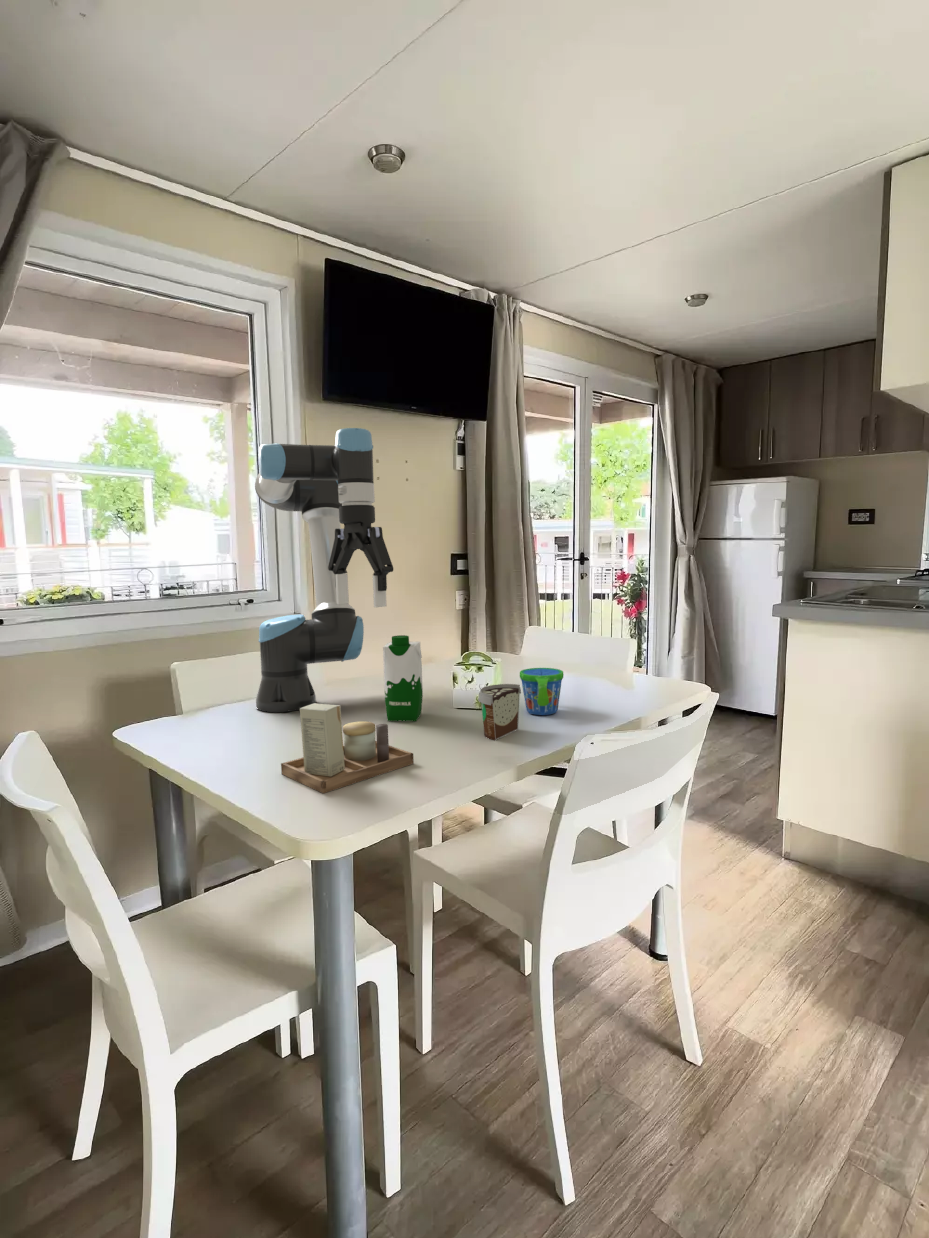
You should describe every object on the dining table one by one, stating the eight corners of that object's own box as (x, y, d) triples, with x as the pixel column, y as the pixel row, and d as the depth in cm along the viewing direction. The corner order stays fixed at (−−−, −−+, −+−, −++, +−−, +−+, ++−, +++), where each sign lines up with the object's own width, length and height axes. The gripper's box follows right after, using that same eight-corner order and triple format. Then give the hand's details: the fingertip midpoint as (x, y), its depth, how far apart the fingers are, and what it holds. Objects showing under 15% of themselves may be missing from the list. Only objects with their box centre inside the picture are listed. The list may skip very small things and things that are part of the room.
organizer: (281, 773, 122) (279, 732, 121) (369, 748, 135) (368, 711, 134) (323, 793, 112) (321, 748, 111) (413, 763, 125) (412, 723, 125)
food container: (498, 724, 151) (497, 681, 150) (521, 728, 147) (521, 684, 146) (467, 737, 141) (466, 692, 140) (491, 742, 137) (490, 695, 136)
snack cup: (523, 703, 169) (522, 664, 168) (564, 704, 167) (564, 665, 166) (516, 720, 154) (516, 677, 152) (562, 721, 152) (562, 678, 150)
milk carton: (382, 722, 154) (379, 638, 152) (390, 712, 163) (387, 632, 161) (419, 722, 154) (416, 637, 151) (425, 712, 163) (423, 632, 160)
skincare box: (345, 770, 120) (342, 704, 119) (330, 778, 116) (327, 710, 115) (317, 765, 123) (314, 701, 122) (302, 773, 119) (298, 707, 118)
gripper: (309, 507, 145) (314, 603, 147) (378, 500, 127) (382, 610, 130) (338, 507, 150) (342, 600, 153) (408, 501, 132) (411, 606, 135)
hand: (360, 605), depth 141 cm, fingers open, 13 cm apart
